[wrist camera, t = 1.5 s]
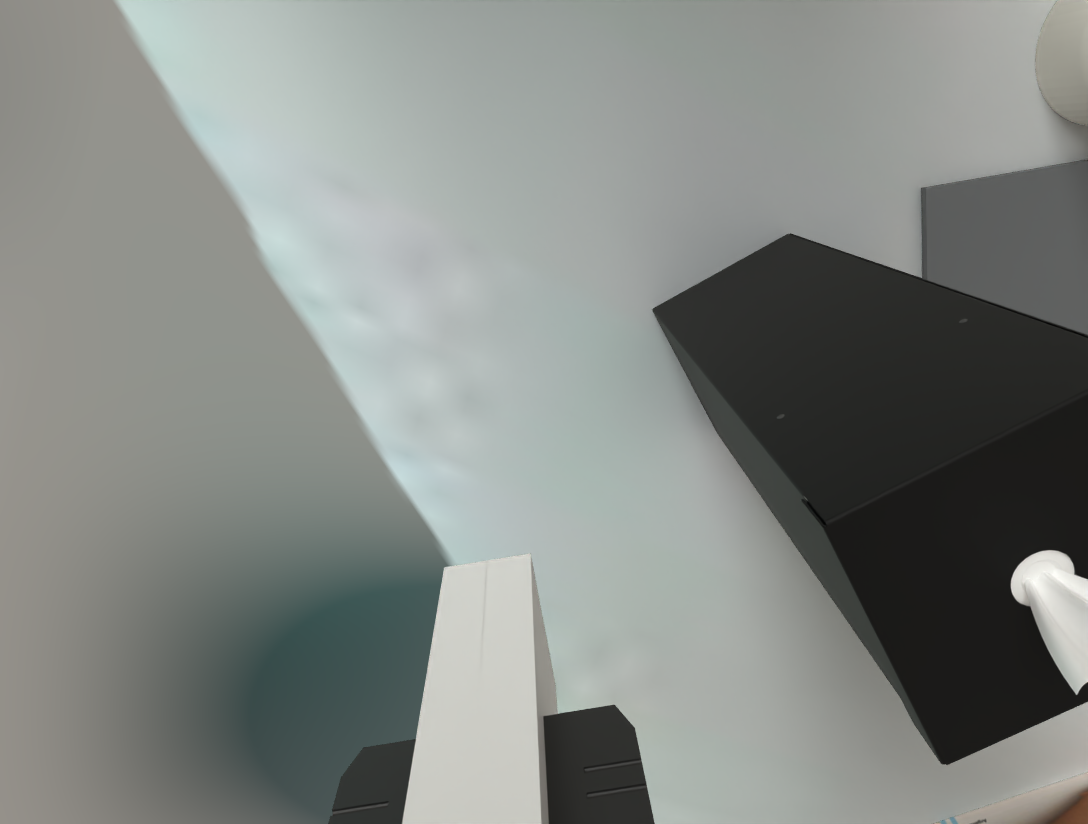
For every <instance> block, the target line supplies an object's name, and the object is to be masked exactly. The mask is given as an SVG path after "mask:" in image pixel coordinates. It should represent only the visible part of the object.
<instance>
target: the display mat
mask: <svg viewBox="0 0 1088 824" xmlns="http://www.w3.org/2000/svg"><path fill="white" fill-rule="evenodd" d="M921 199H922V269H923V279H925V280H928V281H931V282H934V283H937V284H940V285H943V286H946V287H949V288H952V289H955V290H958V291H961V292H963V293H966V294H969V295H972V296H975V297H978V298H981V299H984V300H987V301H990V302H993V303H996V304H999V305H1002V306H1005V307H1008V308H1010V309H1013V310H1016V311H1019V312H1022V313H1025V314H1028V315H1031V316H1034V317H1037V318H1040V319H1043V320H1046V321H1049V322H1052V323H1054V324H1057V325H1060V326H1063V327H1066V328H1069V329H1072V330H1075V331H1078V332H1081V333H1084V334H1087V335H1088V160H1082V161H1076V162H1071V163H1065V164H1059V165H1053V166H1047V167H1041V168H1035V169H1030V170H1024V171H1018V172H1012V173H1006V174H1000V175H995V176H989V177H983V178H977V179H971V180H965V181H959V182H954V183H948V184H942V185H936V186H930V187H924V188H921Z"/></svg>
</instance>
